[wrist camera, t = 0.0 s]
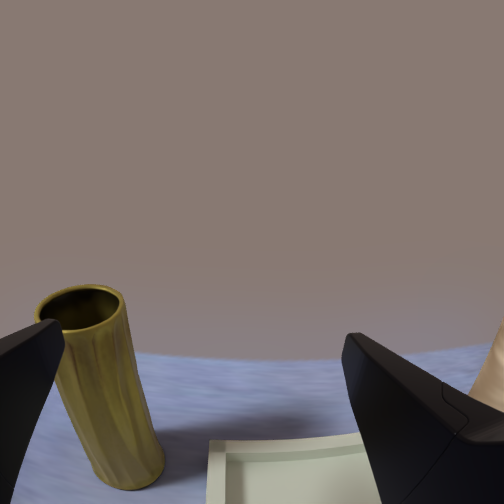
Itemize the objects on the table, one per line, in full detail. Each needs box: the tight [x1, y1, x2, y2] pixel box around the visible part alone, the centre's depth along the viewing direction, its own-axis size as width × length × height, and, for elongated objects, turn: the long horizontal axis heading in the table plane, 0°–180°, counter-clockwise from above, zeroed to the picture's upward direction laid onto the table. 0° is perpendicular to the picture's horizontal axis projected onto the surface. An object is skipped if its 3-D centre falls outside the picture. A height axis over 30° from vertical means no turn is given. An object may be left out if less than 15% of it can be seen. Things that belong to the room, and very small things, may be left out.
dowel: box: [468, 317, 504, 412], centre depth 15 cm, size 4×4×15 cm
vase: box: [34, 284, 165, 490], centre depth 17 cm, size 6×6×14 cm
